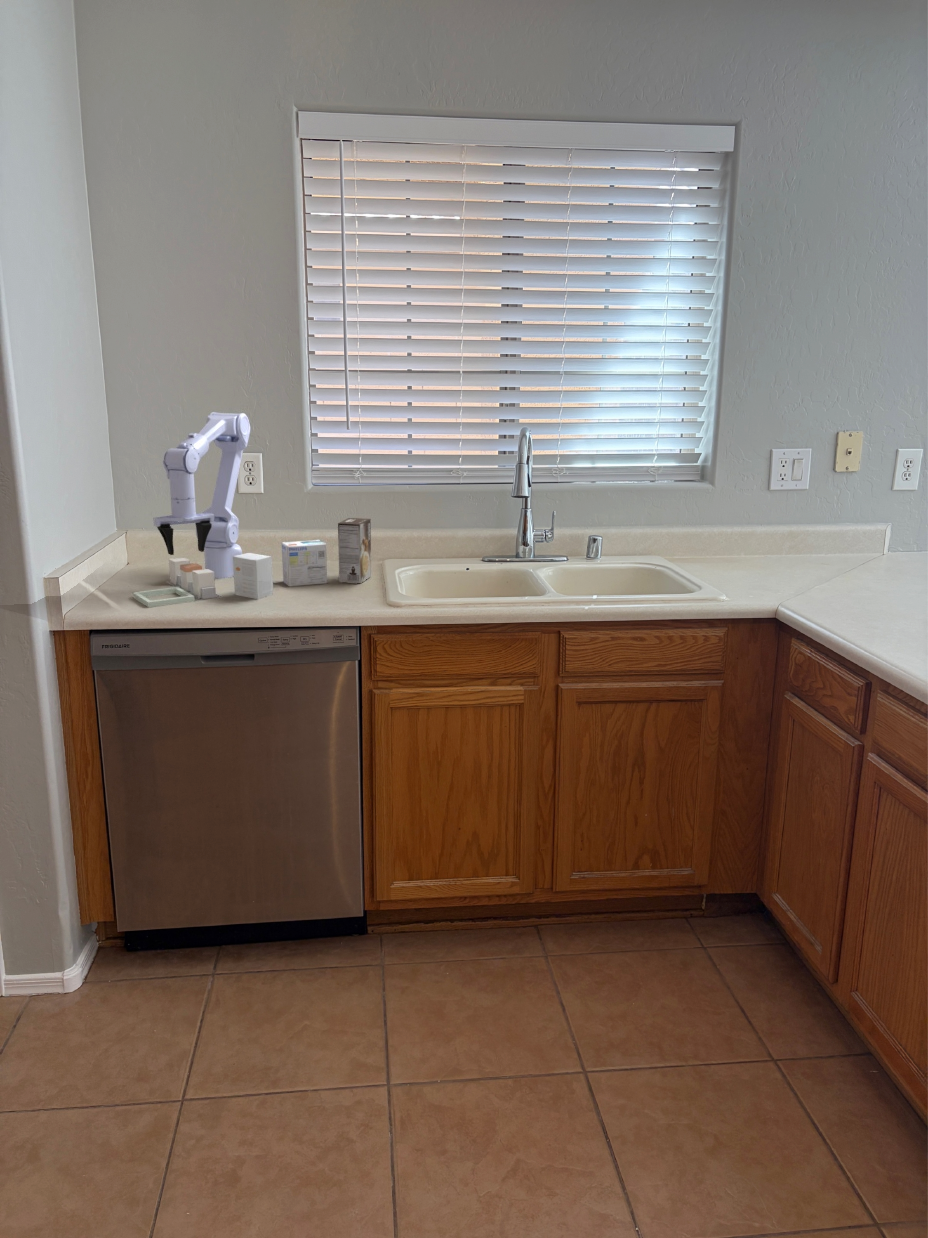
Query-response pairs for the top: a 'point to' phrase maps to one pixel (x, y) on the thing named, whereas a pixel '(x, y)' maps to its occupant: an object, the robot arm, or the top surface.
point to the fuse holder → (205, 592)
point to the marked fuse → (188, 574)
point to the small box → (253, 575)
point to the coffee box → (354, 550)
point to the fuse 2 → (202, 580)
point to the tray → (183, 599)
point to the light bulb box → (304, 562)
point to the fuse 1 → (176, 568)
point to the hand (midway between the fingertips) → (186, 552)
